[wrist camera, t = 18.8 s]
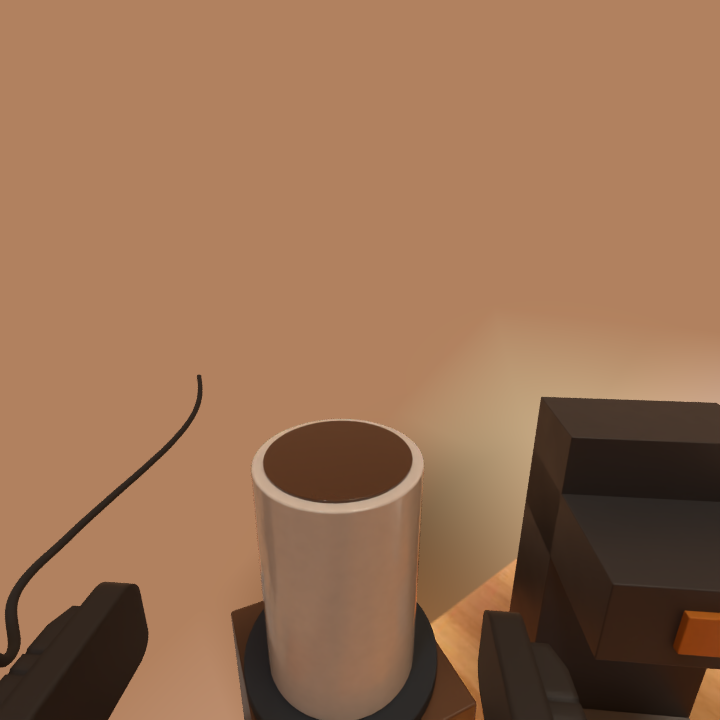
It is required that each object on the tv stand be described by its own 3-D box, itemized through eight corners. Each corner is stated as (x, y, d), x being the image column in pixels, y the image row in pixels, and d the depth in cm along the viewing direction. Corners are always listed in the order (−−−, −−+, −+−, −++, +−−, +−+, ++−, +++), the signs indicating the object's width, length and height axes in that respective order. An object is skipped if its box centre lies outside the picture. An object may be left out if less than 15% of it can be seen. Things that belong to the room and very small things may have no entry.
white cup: (255, 611, 20) (237, 432, 17) (375, 570, 22) (377, 406, 19) (291, 755, 15) (273, 533, 12) (442, 681, 17) (460, 479, 14)
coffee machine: (801, 934, 23) (1022, 588, 16) (570, 905, 24) (669, 566, 17) (643, 650, 39) (716, 402, 31) (505, 639, 39) (541, 396, 32)
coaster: (230, 611, 20) (229, 601, 20) (382, 558, 24) (382, 549, 23) (269, 815, 14) (268, 803, 13) (477, 703, 17) (478, 692, 16)
